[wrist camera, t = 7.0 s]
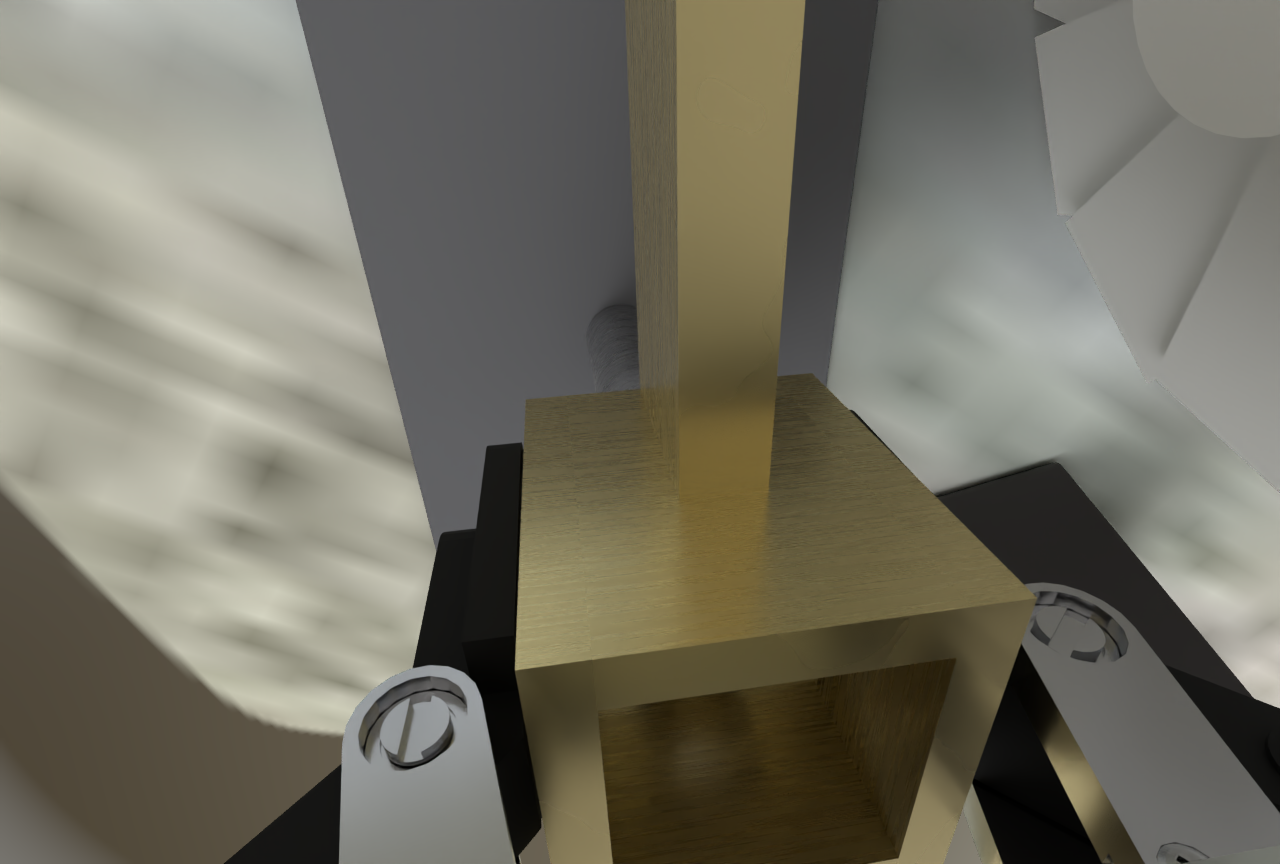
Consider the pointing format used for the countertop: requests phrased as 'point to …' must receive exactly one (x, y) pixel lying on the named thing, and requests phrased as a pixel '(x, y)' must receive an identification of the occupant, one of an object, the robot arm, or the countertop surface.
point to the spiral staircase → (1178, 193)
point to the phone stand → (1082, 560)
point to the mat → (535, 202)
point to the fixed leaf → (614, 349)
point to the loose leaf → (740, 531)
